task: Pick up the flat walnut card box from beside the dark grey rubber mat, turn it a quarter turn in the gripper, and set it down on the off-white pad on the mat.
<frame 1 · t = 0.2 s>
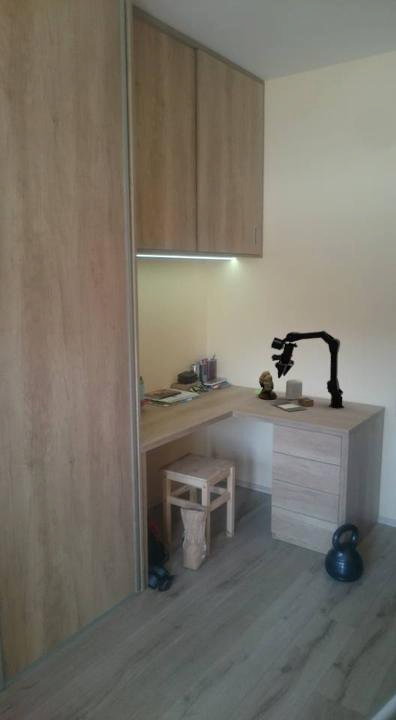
hand: (281, 377, 317), 15 cm above the table, tool pointing down, fingers open, 9 cm apart
bust sculpture: (267, 397, 331), on the table
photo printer: (293, 399, 326), on the table
desk mat: (288, 407, 305), on the table
walnut card box: (305, 405, 310), on the table
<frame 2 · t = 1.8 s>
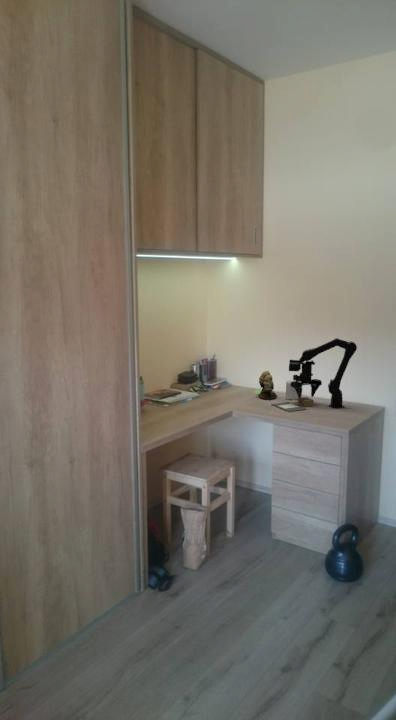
hand: (305, 397, 309), 5 cm above the table, tool pointing down, fingers open, 9 cm apart
nothing on the table moved.
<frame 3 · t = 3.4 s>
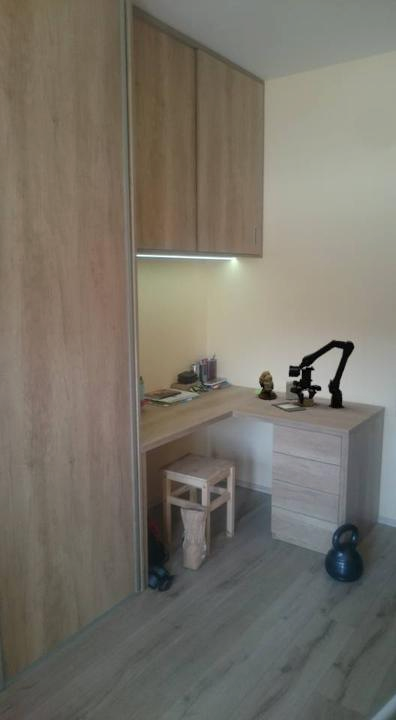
hand: (305, 403, 310), 1 cm above the table, tool pointing down, fingers closed on walnut card box, 5 cm apart
walnut card box: (305, 405, 310), on the table, touching gripper
everything else where it was.
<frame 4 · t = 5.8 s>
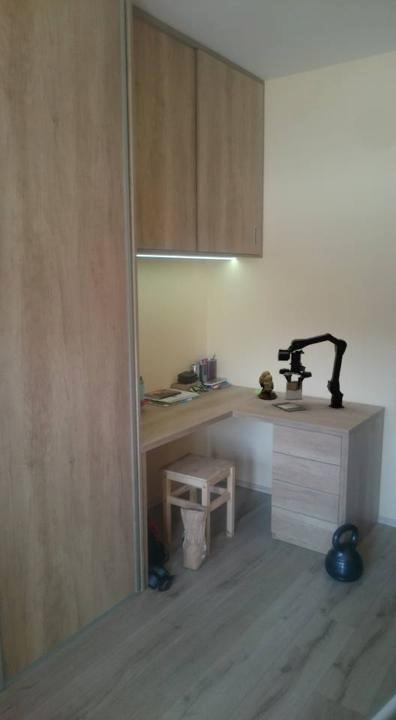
hand: (294, 387, 305), 11 cm above the table, tool pointing down, fingers closed on walnut card box, 5 cm apart
walnut card box: (294, 389, 305), point 10 cm above the table, touching gripper
everything else where it was.
when the fingers open (3 cm above the table, at t = 8.6 s): walnut card box stays where it is, resting on desk mat.
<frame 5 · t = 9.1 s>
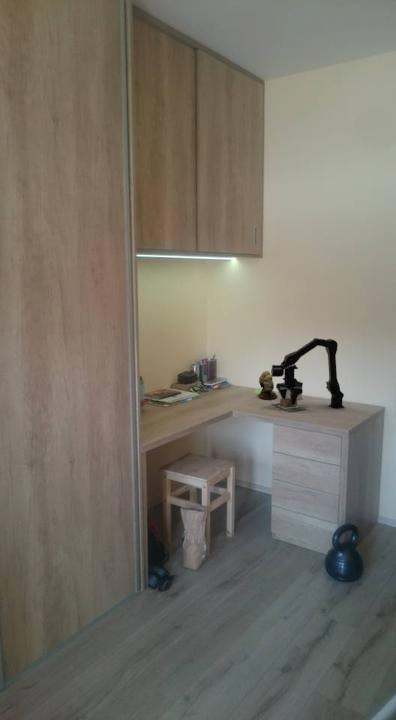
hand: (288, 402, 305), 3 cm above the table, tool pointing down, fingers open, 9 cm apart
walnut card box: (288, 406, 305), point 1 cm above the table, touching desk mat
everything else where it was.
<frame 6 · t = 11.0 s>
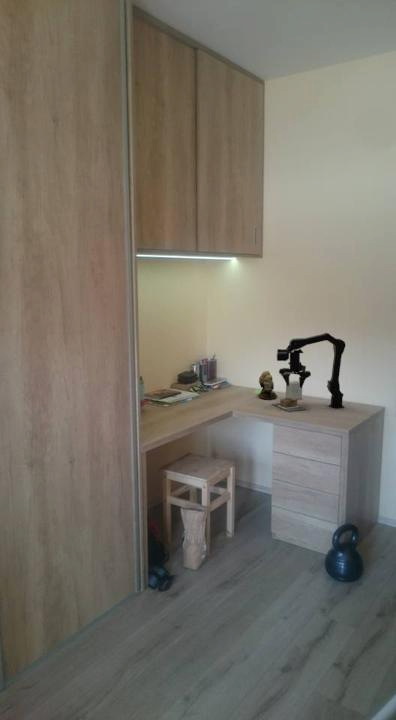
hand: (294, 387, 305), 12 cm above the table, tool pointing down, fingers open, 9 cm apart
nothing on the table moved.
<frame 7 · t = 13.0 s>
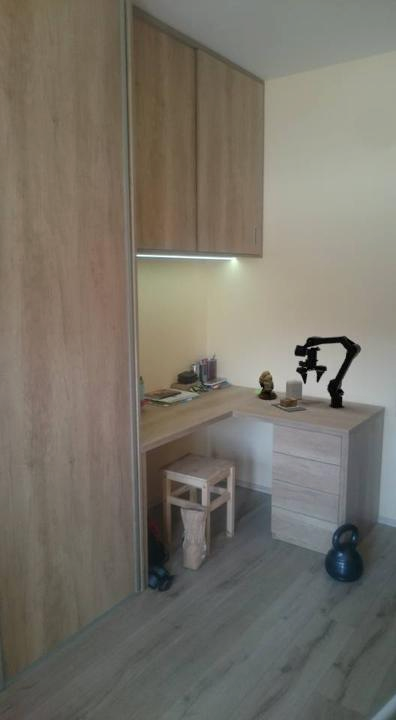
hand: (311, 383, 313), 12 cm above the table, tool pointing down, fingers open, 9 cm apart
nothing on the table moved.
at the end: walnut card box 0.1 cm off-centre on the desk mat, point 0.7 cm above the desk mat's base; walnut card box tilted 0°; the gripper is holding nothing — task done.
